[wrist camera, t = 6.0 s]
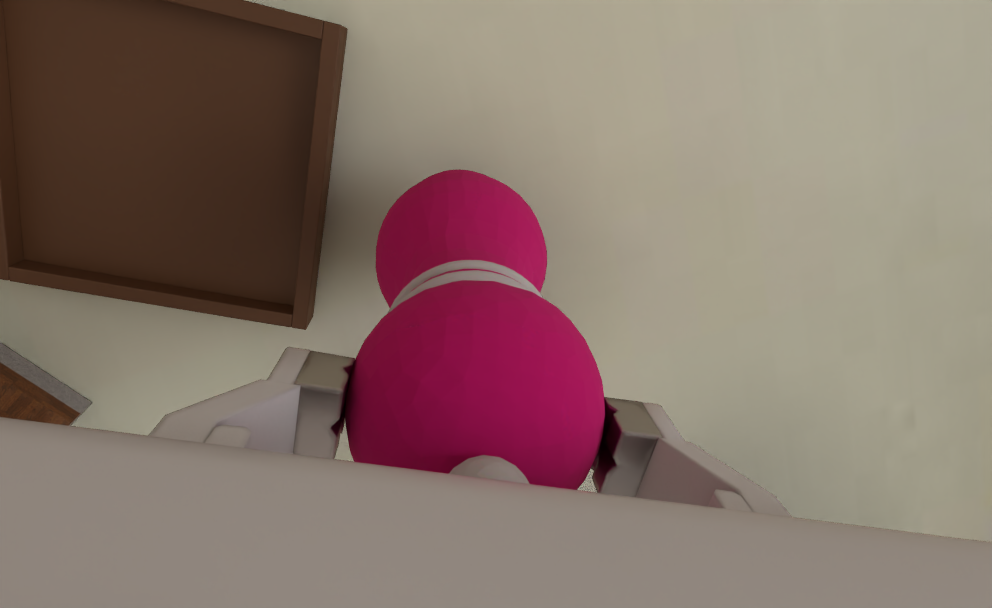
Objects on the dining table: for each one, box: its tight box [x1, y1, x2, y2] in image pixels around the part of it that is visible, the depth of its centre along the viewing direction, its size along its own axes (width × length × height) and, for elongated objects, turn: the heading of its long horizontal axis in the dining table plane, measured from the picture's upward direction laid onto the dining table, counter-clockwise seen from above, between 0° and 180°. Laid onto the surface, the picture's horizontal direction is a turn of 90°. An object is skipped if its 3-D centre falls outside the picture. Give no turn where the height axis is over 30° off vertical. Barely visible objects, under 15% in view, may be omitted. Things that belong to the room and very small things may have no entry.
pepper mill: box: [345, 170, 605, 490], centre depth 18 cm, size 7×7×20 cm
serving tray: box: [0, 0, 347, 330], centre depth 28 cm, size 16×16×2 cm
